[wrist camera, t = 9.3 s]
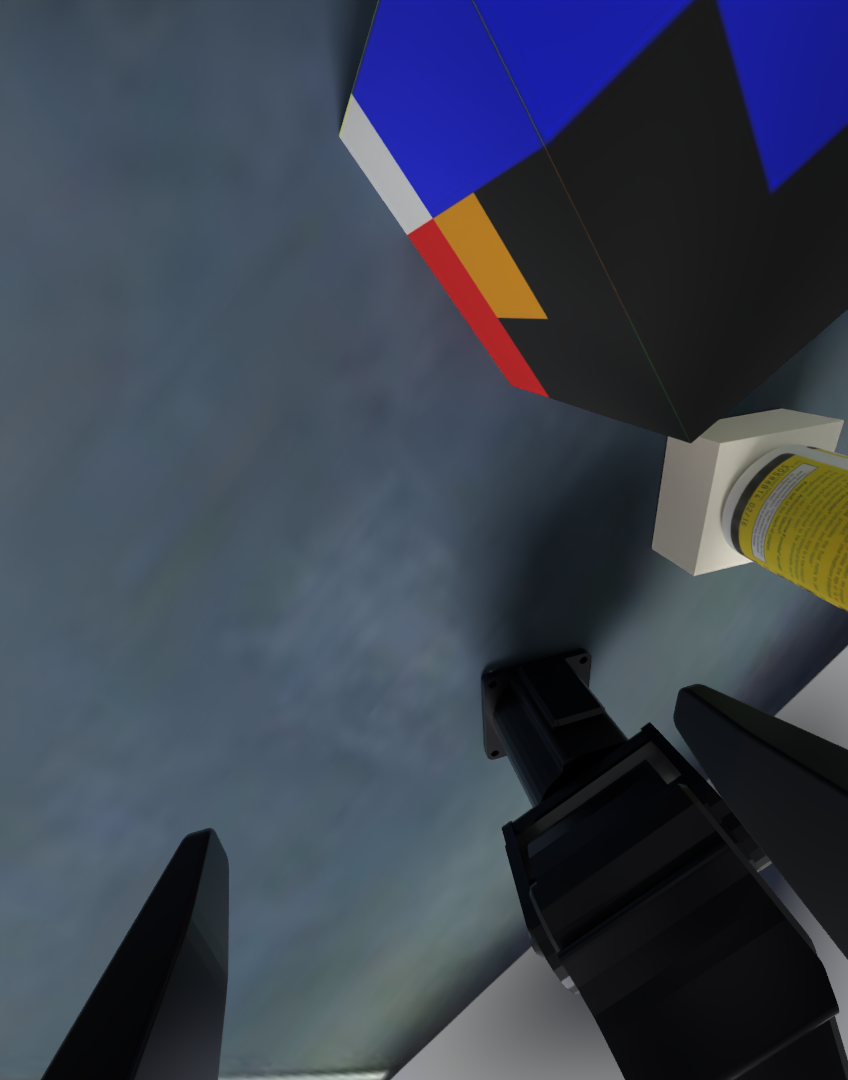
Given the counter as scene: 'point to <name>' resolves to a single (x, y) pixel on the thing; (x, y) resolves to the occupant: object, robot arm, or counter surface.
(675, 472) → the base brick
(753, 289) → the puzzle toy
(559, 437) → the counter surface
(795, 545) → the supplement bottle
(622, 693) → the counter surface
